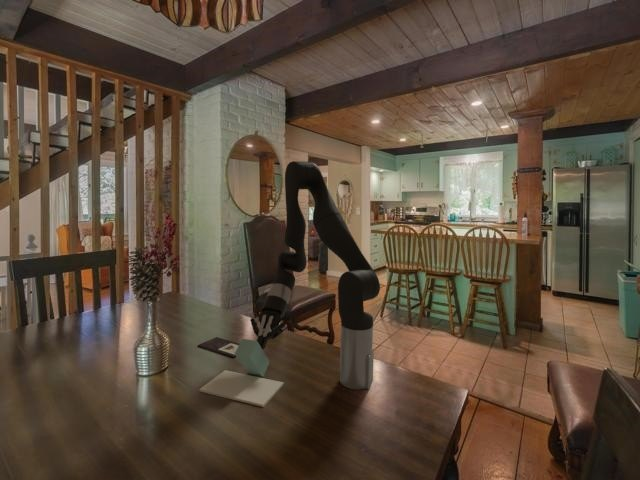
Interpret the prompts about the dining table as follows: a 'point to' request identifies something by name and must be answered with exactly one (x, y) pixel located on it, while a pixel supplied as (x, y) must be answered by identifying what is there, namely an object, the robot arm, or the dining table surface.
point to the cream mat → (243, 388)
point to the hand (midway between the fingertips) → (258, 349)
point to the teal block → (252, 357)
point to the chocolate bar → (221, 346)
